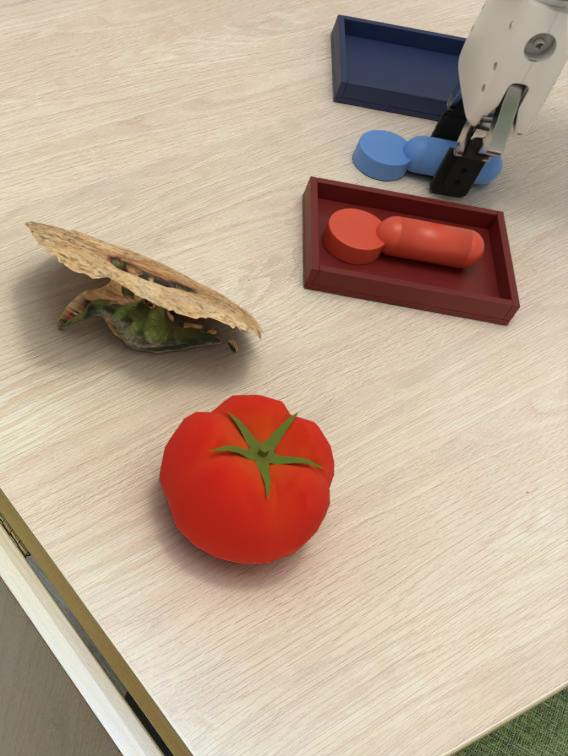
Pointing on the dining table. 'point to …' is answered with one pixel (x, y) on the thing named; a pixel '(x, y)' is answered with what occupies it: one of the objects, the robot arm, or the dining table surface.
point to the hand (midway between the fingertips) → (445, 171)
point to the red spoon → (399, 240)
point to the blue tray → (394, 67)
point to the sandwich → (140, 295)
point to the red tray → (405, 276)
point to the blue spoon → (409, 156)
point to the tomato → (248, 479)
